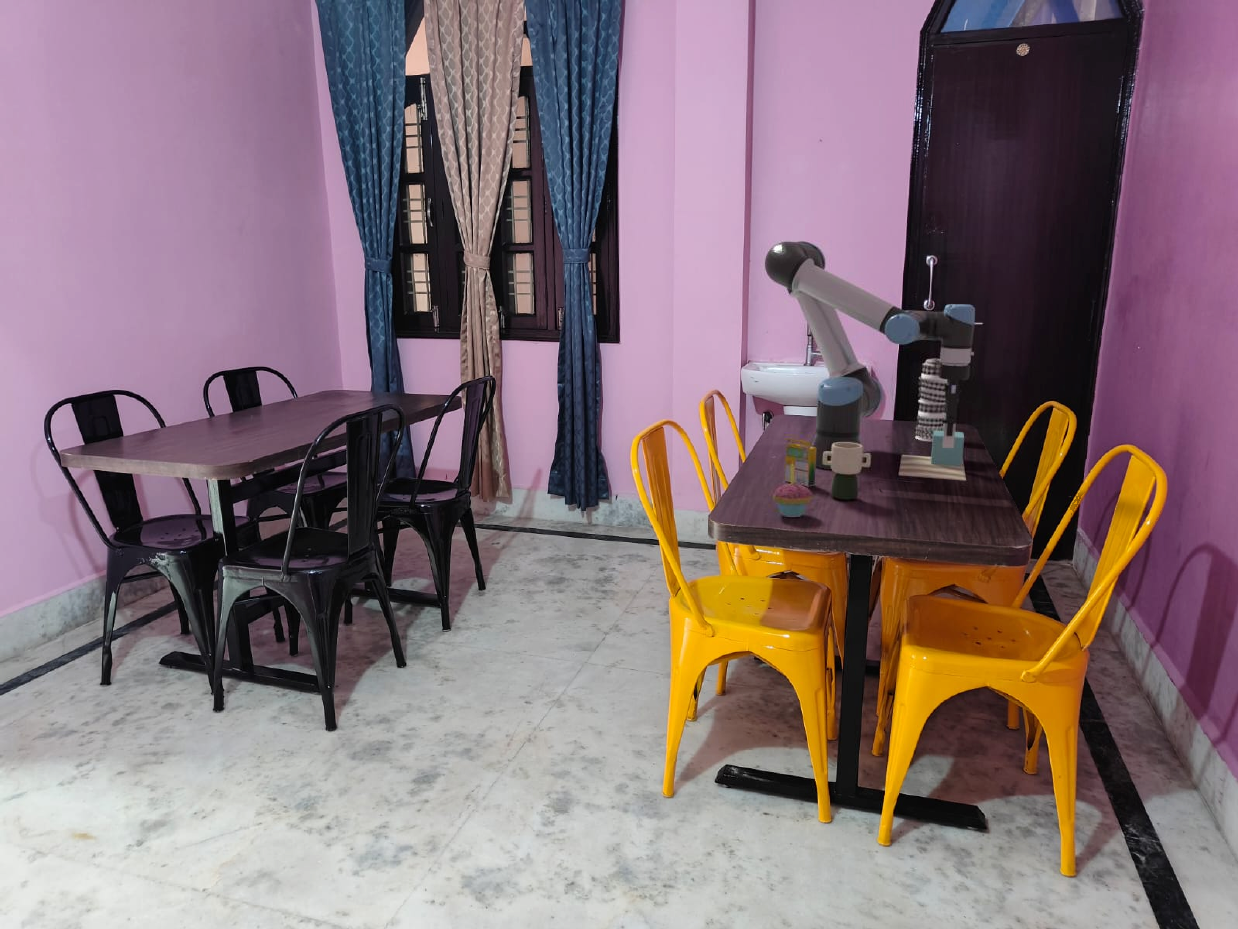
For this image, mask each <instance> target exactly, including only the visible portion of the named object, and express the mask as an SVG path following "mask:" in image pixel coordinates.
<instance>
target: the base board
mask: <svg viewBox="0 0 1238 929" xmlns="http://www.w3.org/2000/svg"><path fill="white" fill-rule="evenodd" d="M898 476H901V477H903V476H904V477H916V478H929V479H930V478H931V479H940V480H942V479H943V480H954V481H967V478H966V472H965V464H964V459H963V458H962V465H961V466H949V465H936V464H931V456H923V455H910V454H909V455H908V454H901V458H900V464H899V471H898Z"/></svg>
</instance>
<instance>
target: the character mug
mask: <svg viewBox="0 0 1238 929" xmlns="http://www.w3.org/2000/svg"><path fill="white" fill-rule="evenodd" d="M828 455H829V456H831V461H827V456H828ZM862 457H864V458H866V462H863V463H862ZM871 459H872V455H871V453H866V452H864V445H863V444H862V443H861V444H857V443H851V442H838V443H833V444H832V451H831V452H829V451H825V452H824V453H823V464H824V465H831V469H832V470H831V471H832V472H833V473H835V474H834V476H833V479H832V484H831V489H830V495H831V497H834V498H836V499H840V500H854V499H857V498H858V496H859V487H858V486H859V485H858V477H857V475H856V474H860V473H861V470H862V468H870V466H871V463H872V462H871Z"/></svg>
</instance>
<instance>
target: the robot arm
mask: <svg viewBox="0 0 1238 929" xmlns="http://www.w3.org/2000/svg"><path fill="white" fill-rule="evenodd" d="M764 269H765V272H766V274H767V276H768V277H769V278H770V279H771V280H772V281H773V282H774V283H775V284H778V285H781V286H782V287H785V288H786V290H787V293H788V296H790V298H791V297H792V298H794V299H796V300H797V301H798V304H799V307H800V309H801V311H802V313H803V316H804V318H805V320H806V323H807V325H808V328H809V330H810V332H811V335H812V337H813V339H814V342H815V344H816V346H817V348H818V350H819V353H820V355H821V358H822V360H823V362H824V366H825V367H826V369H827V372H828V374H829V376H828V378H825V379H824V380H822V381H821V382H820V383H819V385H818V391H817V394H816V397H817V399H816V400H817V402H816V423H815V425H816V426H815V436H814V439H813V441H812V445H810V447H815V448H817V449H816V467H815V468H818V467H819V468H818V469H822V468H824V470H830V469H831V465H824V464H823V453H824V452H825V451H829V452H831V451H832V444H833V443H838V442H851V443H857V444H861V445H862V443H861V440H860V430H861V420H863V419H866V418H868V417H870V416H871V415H873V414H874V413H875V412H877V410H878V409H879V408H880V407H881V404H882V400H883V390H882V389H883V388H882V386H881V385H880V383H879V382H878V380H876V379H875V378H873V377H871V375H870V373H869V370H868V368H867V366H866V365H864V364H862V363H860V362H859V361H858V359H857V357H856V354H855V352H854V350H853V347H852V344H851V342H850V340H849V338H848V335H847V333H846V331H845V329H844V326H843V324H842V321H841V319H840V316H839V314H838V313H837V311H839V312H841V313H843V314H845V315H847V316H849V317H851V318H852V319H854V320H856V321H858V322H860V323H862V324H864V325H865V326H867V327H870V328H872V329H874V330H875V331H876V332H879V333H880V334H883V335H885V337H886V338H887V340H888V341H889V342H891V343H893V344H895V345H907V344H910V343H912V342H916V341H920V340H921V341H922V340H923V341H926V340H927V341H941V347H940V355H939V359H940V362H942V364H941V365H940V368H939V378H941V379H948V380H947V385H945V401H946V402H945V407H944V409H945V410H944V412H945V414H944V420H943V421H942V423H943V431H944V436H943V446H942V447H943V448H954V438H955V432H956V425H957V421H958V420H957V414H958V403H959V402H960V394H961V391H962V386H961V385H960V384H959V381H967V380H968V379H970V370H971V366H970V365H969V364H971V356H974V355H975V352H974V351H972V348H973V339H974V331H975V324H976V322H975V320H976V319H975V316H976V308H975V307H974V306H973V305H972V304H964V303H963V304H960V303H959V304H953V303H951V304H947V305H945V307H944V309H943V311H931V310H930V311H926V310H914V309H911V310H904V309H902V308H900V307H897V306H896V305H894V304H892V303H890V302H888V301H886V300H885V299H882V298H880V297H878V296H877V295H874V294H873V293H870V292H869V291H866V290H865V289H862V288H860V287H858V286H857V285H855V284H853V283H850V282H849V281H847V280H845V279H843V278H840V277H839V276H837V275H835V274H833V273H831V272H829V271H827V270H825V269H826V257H825V254H824V253H823V251H822V250H821V249H820V247H819V246H817V245H815V244H813V243H811V242H807V241H804V240H803V241H800V240H799V241H780V242H779V243H776V244H775V245H773V246H772V247H771V248H770V249H769V251H767V253H766V256H765V259H764ZM827 461H831V456H829V455H828V456H827ZM862 463H865V457H862Z"/></svg>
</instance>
